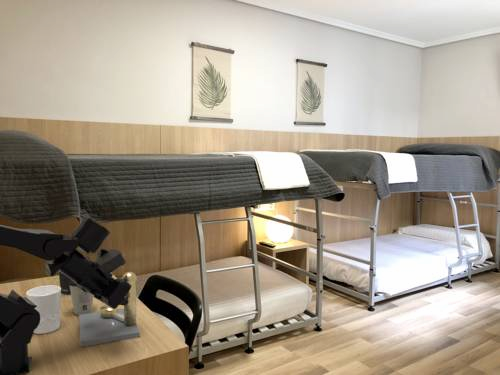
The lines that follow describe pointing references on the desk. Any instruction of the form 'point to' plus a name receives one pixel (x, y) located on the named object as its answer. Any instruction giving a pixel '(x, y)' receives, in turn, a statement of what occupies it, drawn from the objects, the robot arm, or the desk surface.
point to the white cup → (47, 307)
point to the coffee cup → (80, 299)
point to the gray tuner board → (104, 329)
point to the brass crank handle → (130, 308)
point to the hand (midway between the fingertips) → (126, 303)
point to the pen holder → (65, 282)
